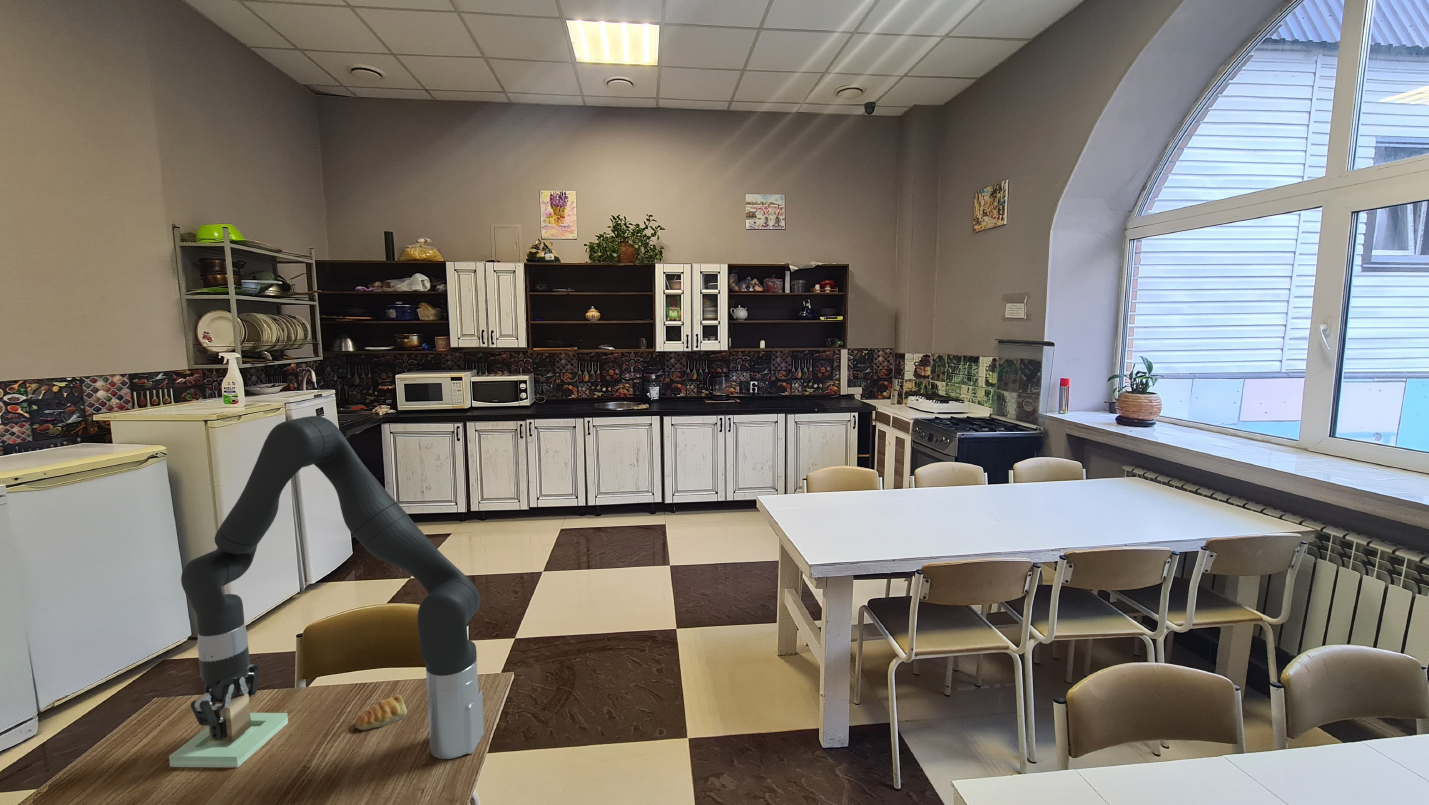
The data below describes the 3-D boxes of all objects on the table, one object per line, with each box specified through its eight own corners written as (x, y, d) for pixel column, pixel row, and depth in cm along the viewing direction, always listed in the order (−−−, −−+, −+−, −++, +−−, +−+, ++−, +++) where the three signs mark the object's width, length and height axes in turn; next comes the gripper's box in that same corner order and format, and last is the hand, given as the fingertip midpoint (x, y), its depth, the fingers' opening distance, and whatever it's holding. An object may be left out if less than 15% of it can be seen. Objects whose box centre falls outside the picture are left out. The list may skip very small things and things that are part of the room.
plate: (288, 722, 123) (287, 713, 123) (237, 767, 110) (236, 756, 110) (227, 722, 124) (226, 712, 123) (170, 766, 111) (168, 756, 110)
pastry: (360, 738, 119) (359, 721, 119) (351, 723, 124) (350, 706, 123) (409, 717, 126) (408, 700, 125) (399, 704, 130) (398, 687, 130)
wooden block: (251, 726, 119) (248, 694, 118) (232, 741, 114) (229, 708, 114) (229, 726, 119) (226, 694, 118) (210, 741, 115) (207, 708, 114)
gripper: (211, 669, 108) (219, 755, 110) (270, 631, 122) (276, 707, 124) (171, 669, 108) (179, 755, 110) (234, 631, 122) (241, 707, 124)
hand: (231, 729), depth 117 cm, fingers closed on wooden block, 4 cm apart
